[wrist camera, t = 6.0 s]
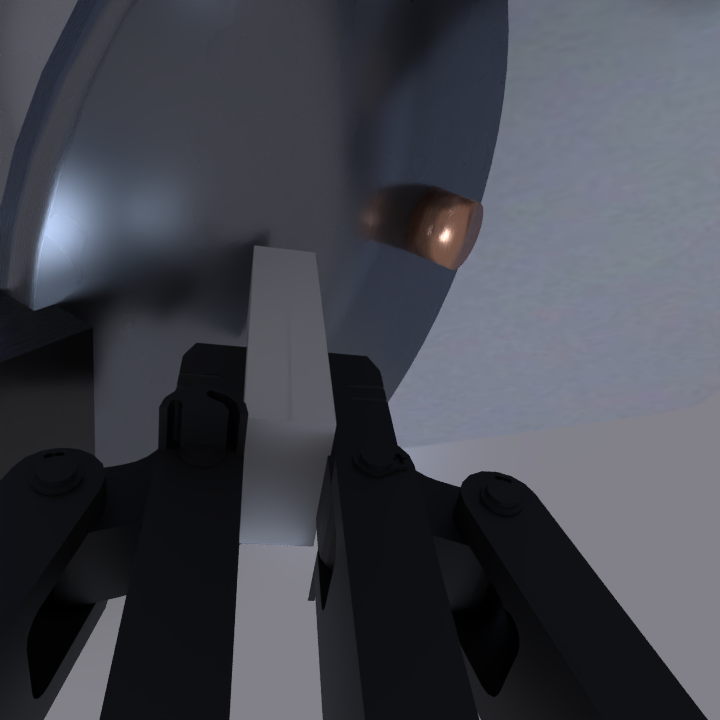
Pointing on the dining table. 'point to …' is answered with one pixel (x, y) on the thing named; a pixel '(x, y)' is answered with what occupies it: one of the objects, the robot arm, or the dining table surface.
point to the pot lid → (233, 194)
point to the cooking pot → (24, 63)
